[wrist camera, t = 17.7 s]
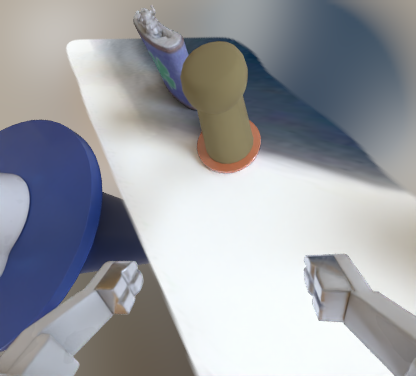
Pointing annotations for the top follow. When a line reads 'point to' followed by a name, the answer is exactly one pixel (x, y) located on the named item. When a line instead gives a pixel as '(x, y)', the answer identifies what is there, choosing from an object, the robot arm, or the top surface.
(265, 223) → the top surface
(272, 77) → the top surface
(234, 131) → the cork
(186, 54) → the flask
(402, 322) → the robot arm
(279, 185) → the top surface
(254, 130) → the coaster
